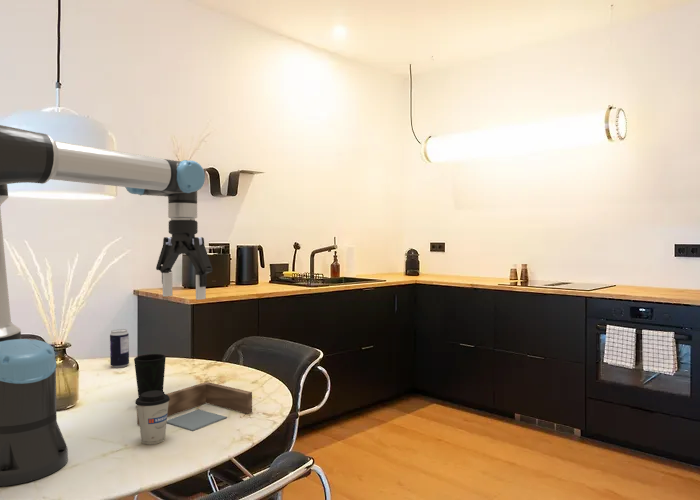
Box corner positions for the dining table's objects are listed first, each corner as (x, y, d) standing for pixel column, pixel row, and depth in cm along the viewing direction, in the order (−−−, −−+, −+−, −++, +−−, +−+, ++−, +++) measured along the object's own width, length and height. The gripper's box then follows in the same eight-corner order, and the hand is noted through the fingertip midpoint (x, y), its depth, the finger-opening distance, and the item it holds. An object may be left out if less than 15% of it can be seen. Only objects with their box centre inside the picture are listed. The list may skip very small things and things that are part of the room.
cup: (155, 408, 133) (155, 361, 133) (128, 407, 135) (127, 360, 134) (172, 399, 141) (171, 354, 140) (146, 397, 142) (145, 353, 142)
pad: (192, 431, 118) (192, 429, 118) (164, 422, 123) (164, 421, 123) (226, 418, 126) (226, 416, 126) (198, 410, 132) (198, 409, 132)
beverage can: (126, 363, 180) (125, 328, 180) (131, 366, 176) (130, 330, 175) (108, 366, 176) (107, 330, 176) (113, 369, 172) (112, 332, 172)
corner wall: (183, 439, 113) (183, 416, 113) (137, 424, 122) (136, 402, 122) (252, 412, 130) (252, 392, 130) (206, 400, 139) (206, 381, 139)
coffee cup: (129, 440, 113) (128, 394, 112) (160, 431, 118) (159, 387, 117) (145, 449, 108) (145, 401, 108) (176, 439, 113) (176, 393, 113)
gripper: (225, 219, 140) (226, 299, 140) (165, 220, 154) (165, 293, 154) (203, 218, 134) (204, 302, 134) (142, 220, 147) (143, 296, 148)
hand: (183, 297), depth 144 cm, fingers open, 13 cm apart
